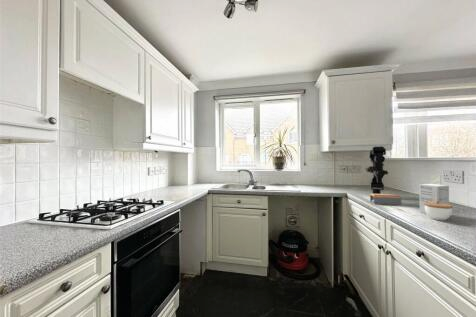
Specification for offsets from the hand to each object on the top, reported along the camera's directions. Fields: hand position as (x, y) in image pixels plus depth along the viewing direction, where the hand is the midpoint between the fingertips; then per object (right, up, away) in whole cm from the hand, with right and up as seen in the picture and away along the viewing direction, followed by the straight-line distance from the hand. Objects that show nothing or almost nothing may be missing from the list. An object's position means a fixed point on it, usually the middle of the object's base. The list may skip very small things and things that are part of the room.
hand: (378, 183), depth 156 cm
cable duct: (-4, -13, -12) cm, 18 cm away
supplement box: (+5, -13, -39) cm, 42 cm away
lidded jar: (-2, -13, -48) cm, 50 cm away
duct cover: (-4, -8, -12) cm, 15 cm away
